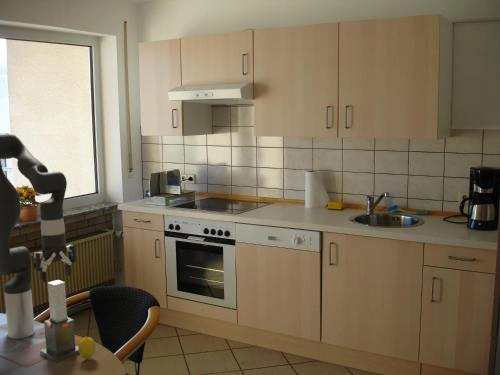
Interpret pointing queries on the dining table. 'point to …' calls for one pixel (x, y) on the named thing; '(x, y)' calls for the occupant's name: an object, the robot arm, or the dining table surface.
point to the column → (57, 302)
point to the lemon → (87, 347)
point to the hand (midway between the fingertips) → (56, 278)
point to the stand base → (59, 341)
